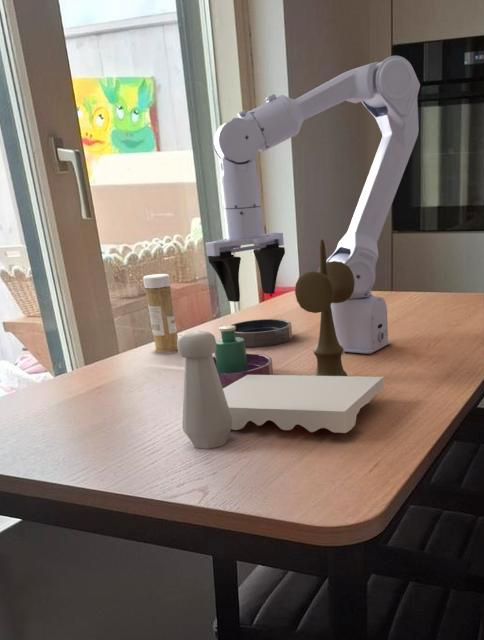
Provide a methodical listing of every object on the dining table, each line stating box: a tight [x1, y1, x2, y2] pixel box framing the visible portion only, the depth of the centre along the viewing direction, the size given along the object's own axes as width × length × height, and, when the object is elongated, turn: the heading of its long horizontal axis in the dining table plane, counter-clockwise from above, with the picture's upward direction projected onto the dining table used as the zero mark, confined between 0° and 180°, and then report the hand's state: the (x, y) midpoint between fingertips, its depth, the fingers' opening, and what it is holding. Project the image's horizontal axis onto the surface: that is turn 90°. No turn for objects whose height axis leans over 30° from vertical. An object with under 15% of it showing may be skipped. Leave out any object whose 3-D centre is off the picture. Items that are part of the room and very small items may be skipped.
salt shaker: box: [177, 330, 232, 450], centre depth 80 cm, size 6×6×13 cm
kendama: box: [294, 239, 355, 376], centre depth 99 cm, size 6×10×20 cm, turn 160°
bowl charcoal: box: [231, 318, 293, 348], centre depth 130 cm, size 12×12×3 cm
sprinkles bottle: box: [142, 273, 179, 353], centre depth 125 cm, size 5×5×13 cm
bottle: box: [214, 324, 248, 373], centre depth 104 cm, size 5×5×8 cm
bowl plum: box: [213, 352, 274, 388], centre depth 105 cm, size 12×12×3 cm
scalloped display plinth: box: [223, 374, 384, 434], centre depth 90 cm, size 15×3×20 cm
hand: (251, 297), depth 114 cm, fingers open, 7 cm apart
